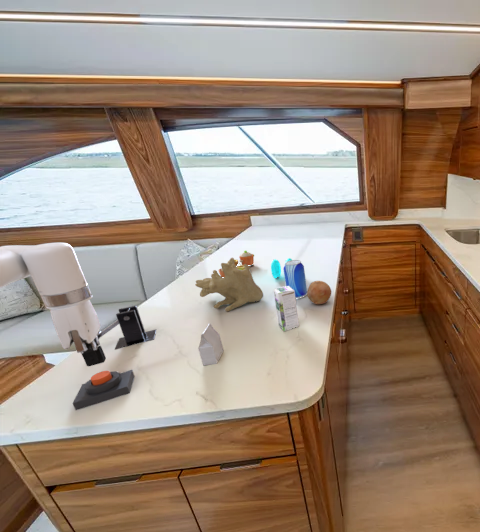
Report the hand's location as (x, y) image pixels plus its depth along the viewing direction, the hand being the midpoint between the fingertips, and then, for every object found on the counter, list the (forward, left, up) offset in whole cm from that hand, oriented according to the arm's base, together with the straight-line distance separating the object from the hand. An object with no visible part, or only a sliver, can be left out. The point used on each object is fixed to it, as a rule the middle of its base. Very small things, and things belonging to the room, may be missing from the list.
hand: (97, 362), depth 74 cm
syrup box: (+48, +7, -9) cm, 49 cm away
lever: (-1, +27, -2) cm, 27 cm away
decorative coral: (+33, +41, -9) cm, 53 cm away
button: (0, 0, -5) cm, 5 cm away
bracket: (+3, +27, -9) cm, 29 cm away
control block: (0, 0, -9) cm, 9 cm away
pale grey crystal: (+24, +1, -9) cm, 25 cm away
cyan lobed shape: (+59, +61, -9) cm, 85 cm away
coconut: (+64, +19, -9) cm, 67 cm away
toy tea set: (+40, +88, -9) cm, 97 cm away
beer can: (+58, +32, -9) cm, 67 cm away
